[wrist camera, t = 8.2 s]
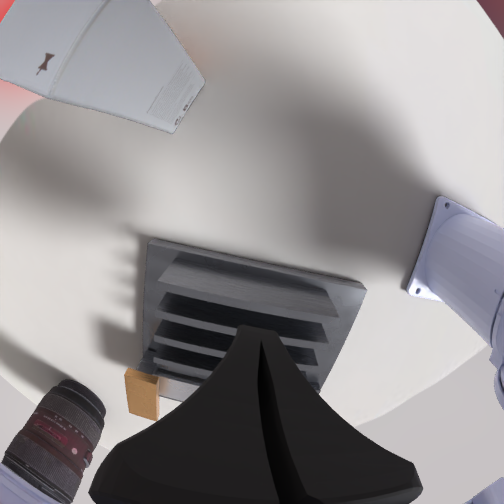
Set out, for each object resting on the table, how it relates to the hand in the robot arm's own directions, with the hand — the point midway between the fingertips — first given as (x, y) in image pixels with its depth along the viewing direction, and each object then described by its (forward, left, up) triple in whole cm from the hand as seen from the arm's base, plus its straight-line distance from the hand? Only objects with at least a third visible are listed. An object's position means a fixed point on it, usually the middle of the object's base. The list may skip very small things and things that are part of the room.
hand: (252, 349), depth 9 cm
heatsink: (-1, +7, -9) cm, 12 cm away
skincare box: (+9, -10, -10) cm, 17 cm away
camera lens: (+16, +22, -10) cm, 29 cm away
